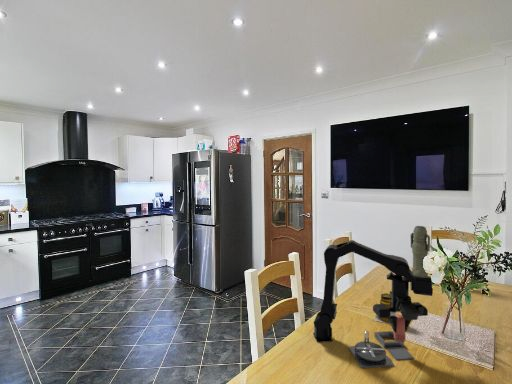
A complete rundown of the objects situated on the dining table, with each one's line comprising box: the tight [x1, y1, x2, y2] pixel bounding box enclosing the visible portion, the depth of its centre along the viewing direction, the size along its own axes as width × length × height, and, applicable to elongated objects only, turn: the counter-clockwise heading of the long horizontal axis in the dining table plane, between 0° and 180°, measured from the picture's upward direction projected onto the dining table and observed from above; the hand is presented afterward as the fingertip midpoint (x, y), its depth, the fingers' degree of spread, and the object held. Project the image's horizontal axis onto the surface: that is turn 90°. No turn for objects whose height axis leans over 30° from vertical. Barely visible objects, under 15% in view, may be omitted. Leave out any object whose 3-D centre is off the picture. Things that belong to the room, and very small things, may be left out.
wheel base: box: [347, 345, 395, 369], centre depth 107 cm, size 12×12×1 cm
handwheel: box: [354, 330, 387, 362], centre depth 106 cm, size 11×11×5 cm
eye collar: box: [373, 330, 405, 349], centre depth 116 cm, size 8×8×2 cm
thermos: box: [410, 225, 431, 276], centre depth 182 cm, size 9×12×35 cm
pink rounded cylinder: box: [393, 314, 407, 343], centre depth 107 cm, size 4×4×9 cm
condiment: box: [373, 292, 392, 325], centre depth 134 cm, size 7×8×12 cm
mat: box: [385, 347, 415, 361], centre depth 108 cm, size 7×7×1 cm
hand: (399, 331), depth 107 cm, fingers closed on pink rounded cylinder, 4 cm apart
